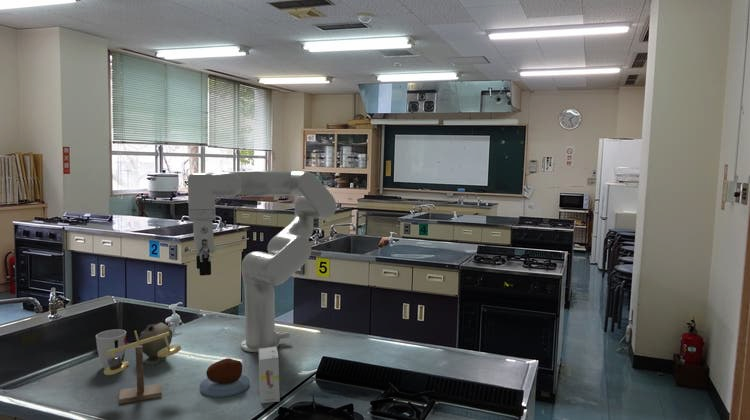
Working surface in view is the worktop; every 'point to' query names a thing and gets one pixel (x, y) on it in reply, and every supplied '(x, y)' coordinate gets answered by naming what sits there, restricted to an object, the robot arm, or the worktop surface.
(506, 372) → the worktop surface
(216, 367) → the potato
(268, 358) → the ink box
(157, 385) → the balance stand
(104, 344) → the cup
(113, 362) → the balance beam
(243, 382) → the plate
